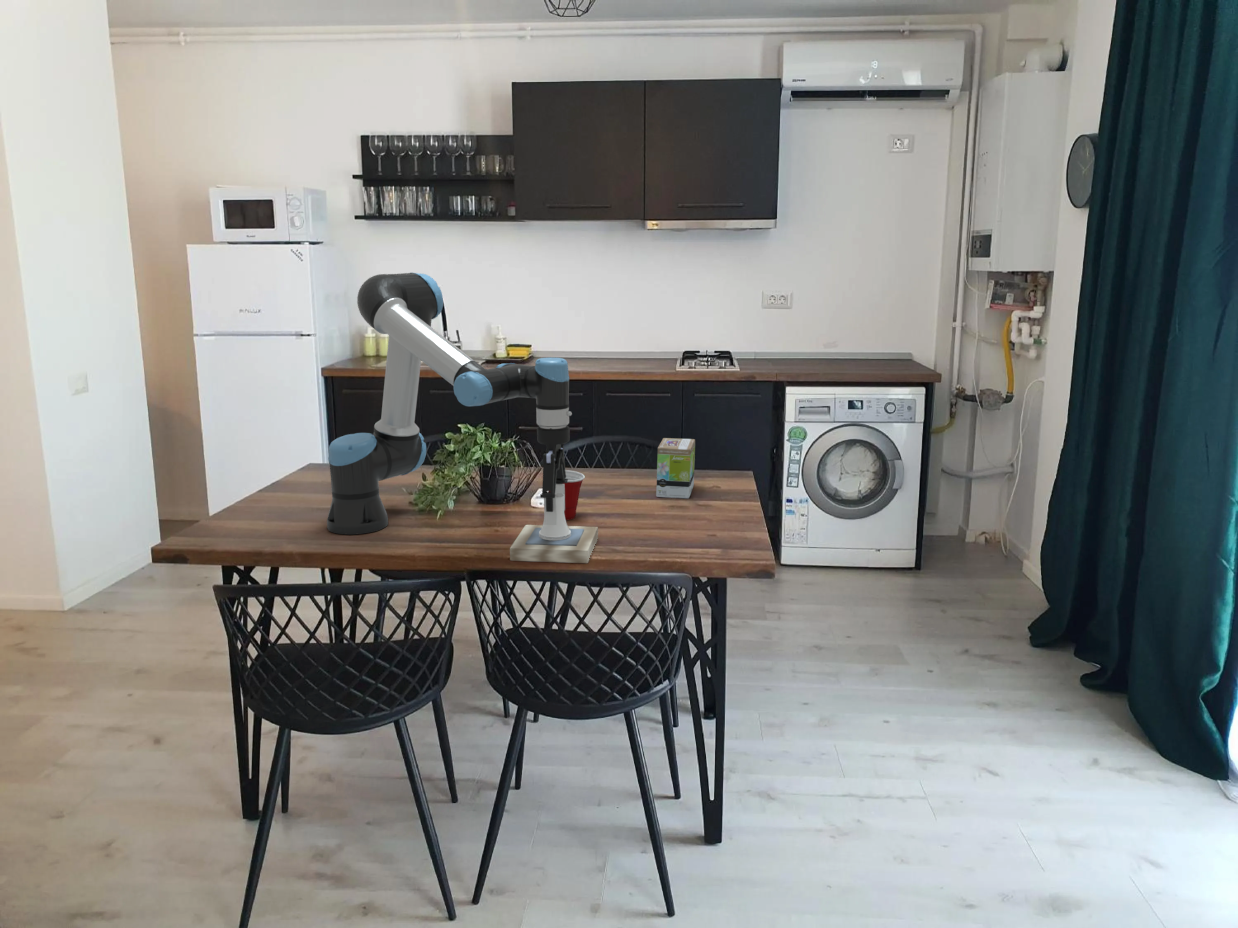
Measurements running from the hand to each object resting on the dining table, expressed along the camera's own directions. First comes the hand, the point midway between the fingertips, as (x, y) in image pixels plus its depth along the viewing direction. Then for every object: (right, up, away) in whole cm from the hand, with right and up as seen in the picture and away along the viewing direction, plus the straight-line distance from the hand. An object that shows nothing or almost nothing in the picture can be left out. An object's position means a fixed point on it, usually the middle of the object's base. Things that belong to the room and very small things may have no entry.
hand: (555, 517), depth 214 cm
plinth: (0, -8, +2) cm, 8 cm away
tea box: (+32, +4, +52) cm, 61 cm away
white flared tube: (0, -5, +1) cm, 5 cm away
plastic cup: (+1, -2, +27) cm, 27 cm away
